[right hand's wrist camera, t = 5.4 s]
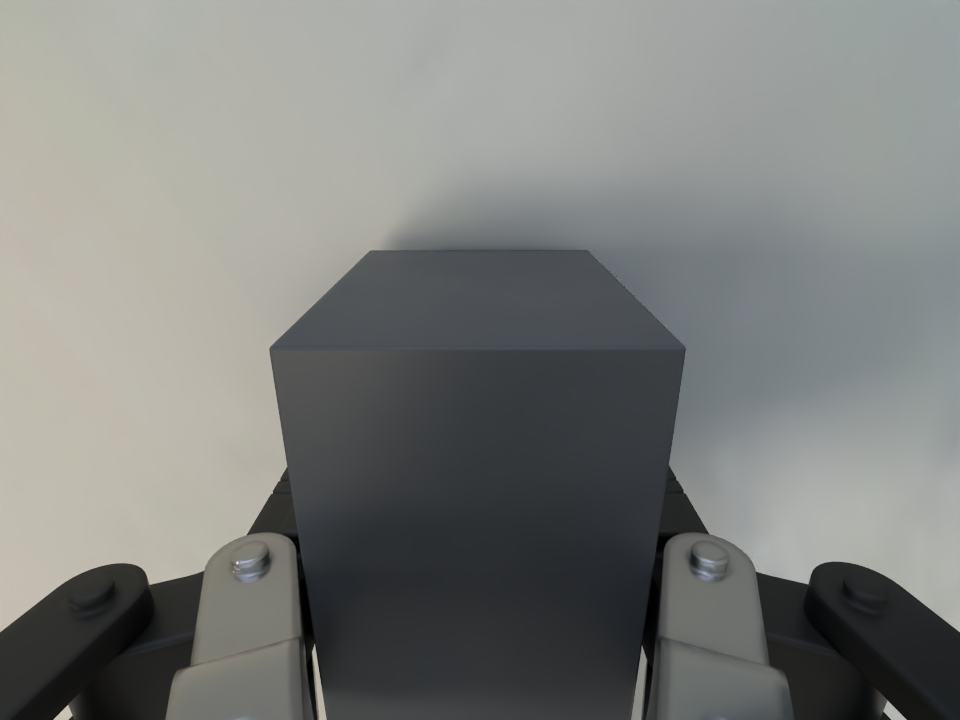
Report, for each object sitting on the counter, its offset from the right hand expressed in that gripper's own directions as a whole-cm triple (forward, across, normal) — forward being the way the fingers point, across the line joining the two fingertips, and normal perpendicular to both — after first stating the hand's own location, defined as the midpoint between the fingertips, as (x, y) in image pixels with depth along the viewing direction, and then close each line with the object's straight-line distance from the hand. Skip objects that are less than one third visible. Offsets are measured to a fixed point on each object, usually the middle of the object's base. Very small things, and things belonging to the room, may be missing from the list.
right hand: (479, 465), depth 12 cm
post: (+2, 0, -33) cm, 33 cm away
